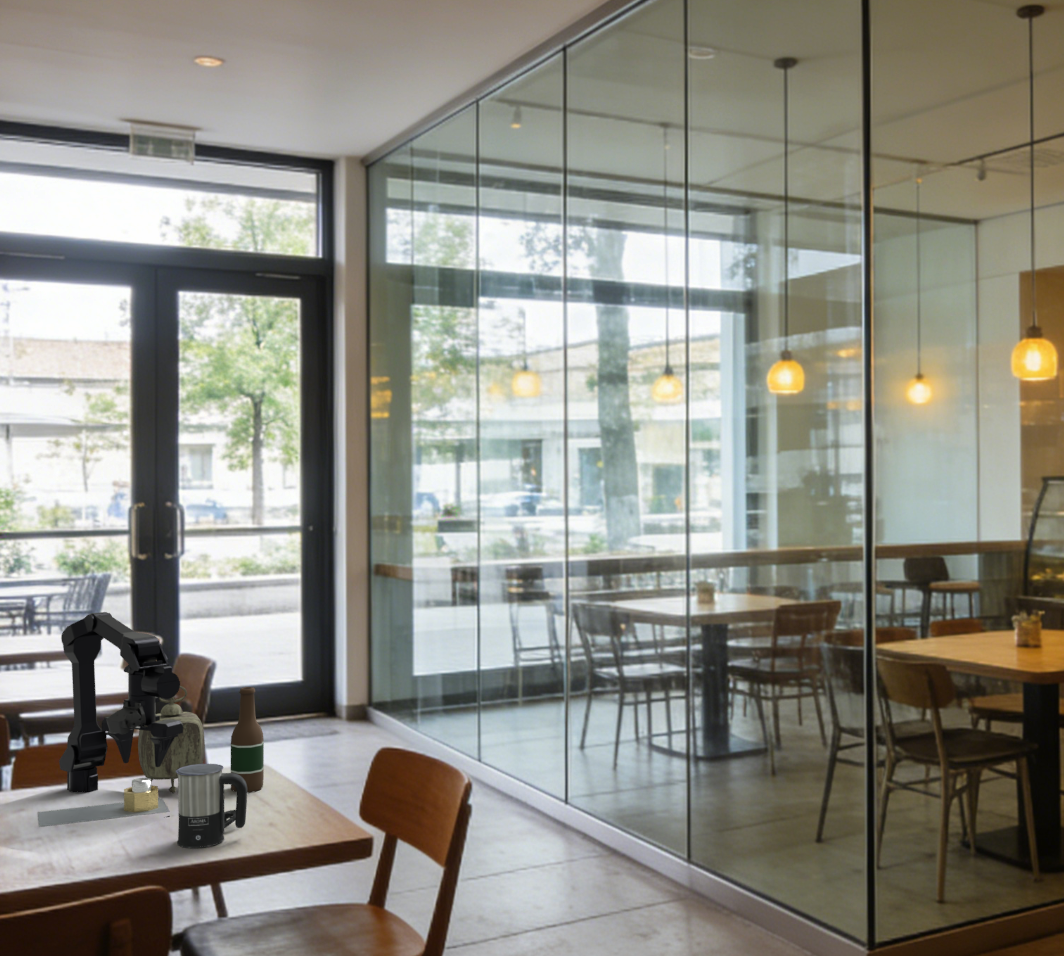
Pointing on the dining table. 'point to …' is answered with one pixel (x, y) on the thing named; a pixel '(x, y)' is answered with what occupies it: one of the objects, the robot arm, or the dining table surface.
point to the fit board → (100, 809)
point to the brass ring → (140, 800)
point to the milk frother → (207, 804)
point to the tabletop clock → (173, 744)
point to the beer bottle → (248, 744)
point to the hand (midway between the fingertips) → (141, 764)
